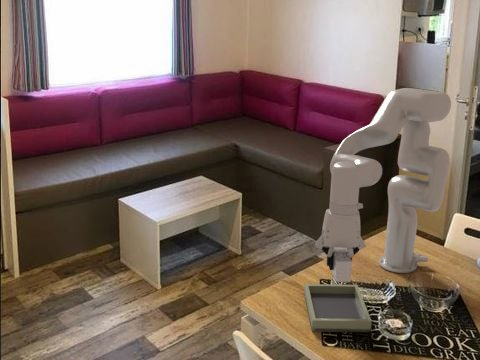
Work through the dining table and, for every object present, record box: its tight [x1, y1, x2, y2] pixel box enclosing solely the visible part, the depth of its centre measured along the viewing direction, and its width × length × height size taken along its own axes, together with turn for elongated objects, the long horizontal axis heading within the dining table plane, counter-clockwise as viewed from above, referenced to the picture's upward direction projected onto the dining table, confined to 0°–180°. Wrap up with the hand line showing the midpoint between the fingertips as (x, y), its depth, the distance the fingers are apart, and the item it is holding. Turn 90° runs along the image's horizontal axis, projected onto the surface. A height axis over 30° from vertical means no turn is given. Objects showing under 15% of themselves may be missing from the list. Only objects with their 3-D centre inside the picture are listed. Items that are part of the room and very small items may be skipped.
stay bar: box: [331, 247, 353, 283], centre depth 160 cm, size 4×14×6 cm, turn 0°
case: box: [303, 283, 372, 333], centre depth 165 cm, size 16×20×4 cm
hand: (338, 267), depth 160 cm, fingers closed on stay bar, 4 cm apart
